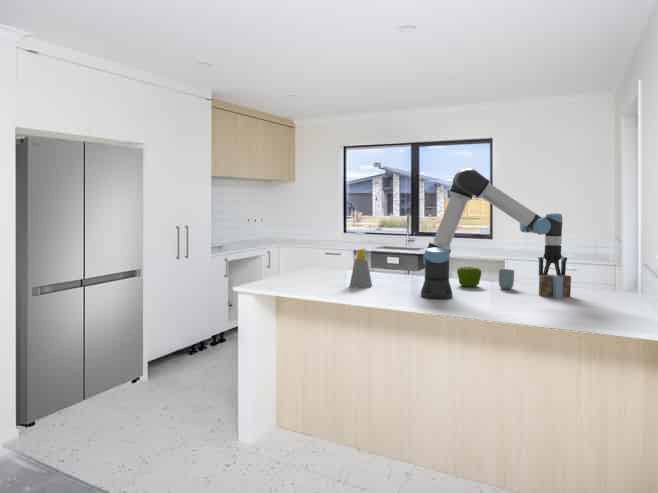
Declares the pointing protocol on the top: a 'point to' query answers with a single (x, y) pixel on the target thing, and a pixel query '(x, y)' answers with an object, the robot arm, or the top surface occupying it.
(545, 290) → the brown u-shaped block
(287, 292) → the top surface
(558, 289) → the grey tunnel block
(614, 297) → the top surface
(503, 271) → the cup
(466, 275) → the green rounded piece
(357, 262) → the soap bottle
